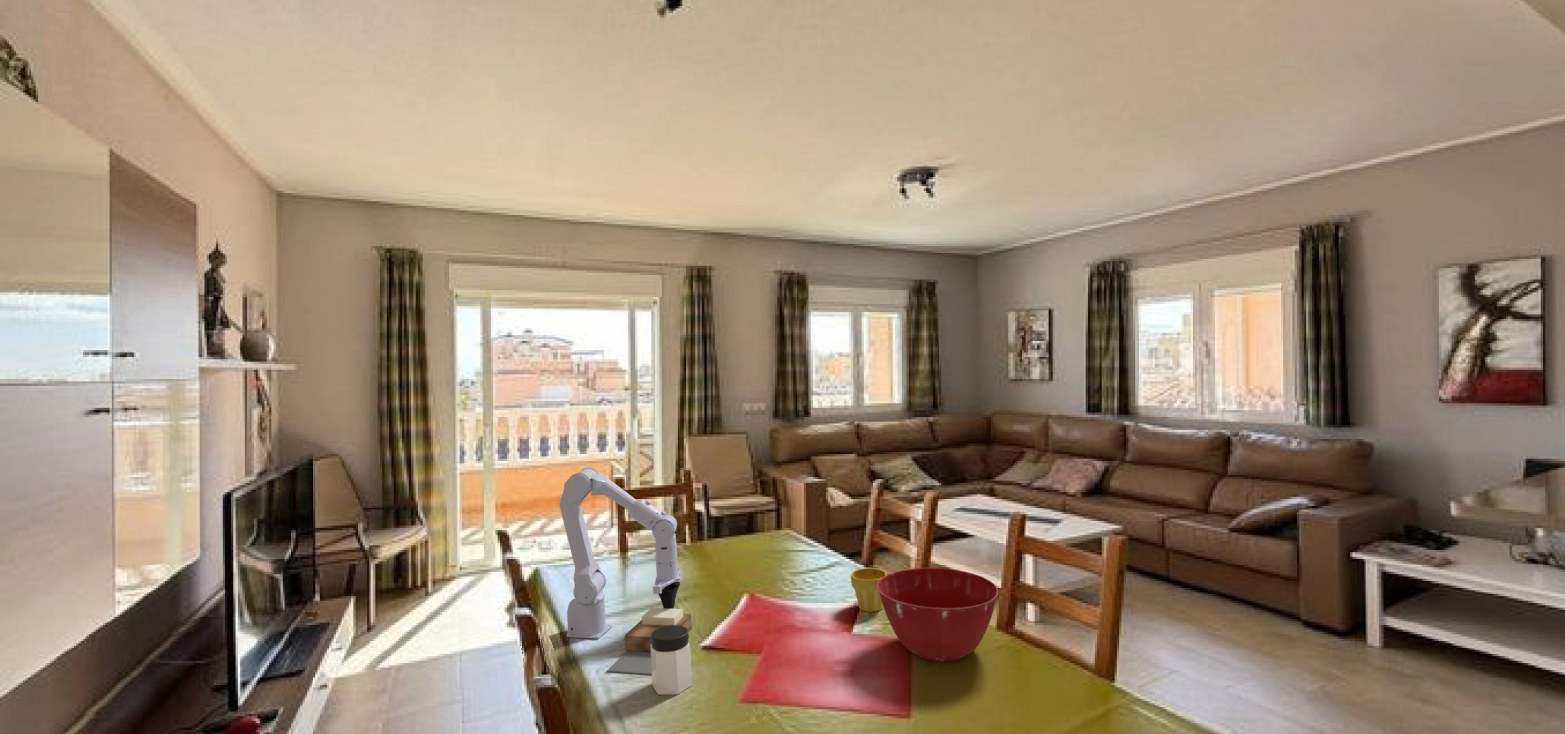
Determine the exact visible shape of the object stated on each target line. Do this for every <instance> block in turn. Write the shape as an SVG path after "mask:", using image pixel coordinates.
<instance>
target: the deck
mask: <svg viewBox="0 0 1565 734" xmlns="http://www.w3.org/2000/svg"><path fill="white" fill-rule="evenodd" d="M676 625H680V626H684V627H686V628H687V630H688V633H689V632H690V631H691V630H692V625H693V624H692V613H684V612H683V617H682V618H681V619H680V621H679V622H678V623H677V624H676ZM664 626H667V625H647V624H642V619H641V620H639V622H637V623H636V624H635V625H634V626H633V627H632V628H631V629H630V630H629V631H628V632H627V633H626V634H625V635H624V649H625V651H624V652H626V651H631V652H648V653H651V646H650V645H651V644H652V642H651V634H652V632H653V631H655V630H656V629H658V628H660V627H664Z"/></svg>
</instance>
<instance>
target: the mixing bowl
mask: <svg viewBox="0 0 1565 734" xmlns="http://www.w3.org/2000/svg"><path fill="white" fill-rule="evenodd" d="M877 590H878V591H879V593H880V597H881V600H882V604H883V607H882V608H884V613H885V615H886V617H887V619H888V622H889V623H890V624H889V625H890V627H891V628H892V630H893V632H894V634H895V635H896V637H897V639H898V640H899V642H900V643H901V644H902V646H904V648H906V650H908V651H910V652H912V654H914V655H915V656H917V657H919V658H922V659H924V660H929V661H932V662H953V661H958V660H960V659H962V658H964V657H966V656H967V655H968V656H969V654H971V653H972V652H973V651H974V650H976V649H977V648H978V646H979V645H980V643H981V641H982V640H983V637H984V636H985V633H986V632H987V630H988V627H989V624H990V622H991V619H992V616H993V613H994V609H995V604H996V602H997V601H996V600H997V598H998V596H999V589H998V587H997V585H996V584H995V583H994V582H992V580H989V579H988V578H986V577H984V576H982V575H979V574H975V573H973V572H968V571H963V570H959V569H952V568H942V567H941V568H940V567H917V568H907V569H903V570H902V569H901V570H898V571H893V572H891V573H889V574H888V573H887V575H886V576H884V577H882V578H881V579H880V580H879V581H878V583H877Z"/></svg>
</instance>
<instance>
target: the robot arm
mask: <svg viewBox="0 0 1565 734" xmlns="http://www.w3.org/2000/svg"><path fill="white" fill-rule="evenodd" d="M561 494H562V495H561V497H560V501H559V510H560V513H561V517H562V522H563V525H564V529H565V533H566V537H567V540H568V541H567V542H568V545H569V546H568V547H569V549H570V553H571V558H572V561H573V565H574V574H573V582H574V587H573V592H572V593H573V597H574V598H573V599H571V600H570V601H569V604H568V606H567V611H566V617H567V618H566V619H567V634H566V638H578V639H583V638H584V639H600V638H601V637H602V636H603V635H604V634H605V633H607V631H609V630H611V628H612V627H613V624H607V623H606V621H607V620H606V619H607V618H606V603H605V602H606V600H605V593H604V592H603V590H604V588H605V586H606V583H607V579H606V576H605V574H604V573H603V571H602V570H601V568H600V565H599V563H597V561H596V560H595V557H594V554H593V550H592V545H591V541H590V538H589V534H588V530H587V525H586V521H585V517H584V513H583V510H582V504H583V503H584V501H585V499H586V498H587V496H588V495H589V494H590V496H605V497H606V498H608V499H610V500H612V501H613V502H615V503H616V504H618V505H620V507H623V508H624V509H626V510H627V511H628V512H629V516H630V518H631V519H632V520H634V521H636V522H637V523H638V524H640V525H641V526H643V527H644V528H646V529H647V530H649V531H651V533H652V535H653V537H654V539H655V545H654V546H655V547H654V548H655V567H656V568H655V569H656V577H655V581H654V585H653V586H652V593H653V594H654V595H655V594H657V595H658V597H659V598H660V602H661V604H662V608H669V609H675V602H676V598H677V594H678V590H679V589H680V586H681V582H680V581H682V580H683V576H682V569H681V567H680V568H678V548H677V543H678V542H677V537H676V535H677V534H676V533H675V532H676V531H677V528H678V521H677V519H676V518H675V517H674V515H672V514H671V513H666V511H664V510H660V509H658V508H657V507H656V506H654V505H652V501H651V500H649V499H647V500H645V499H644V498H642V499H636V498H634V497H633V496H632V495H630V494H629V493H628V492H627V491H626V490H624V489H623V488H621V487H620V486H619V485H617V484H616V483H614V482H613V481H612V480H611V479H610V478H608V477H607V476H606V475H605V474H604V473H602V472H599V471H598V470H597V469H596V468H594V467H590V466H588V467H585V468H582V469H581V470H580V471H578V472H575V473H573V474H572V475H570V476H569V478H568V479H567V480H566V481H565V482H564V484H563V491H562V493H561Z"/></svg>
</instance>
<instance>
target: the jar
mask: <svg viewBox="0 0 1565 734" xmlns="http://www.w3.org/2000/svg"><path fill="white" fill-rule="evenodd" d="M689 638H690V636H689V632H688V630H687V628H686V627H684V626H680V625H669V626H664V627H660V628H658V629H656V630H655V631H653V632H652V634H651V642H652V644H651V645H650V646H651V667H652V675H651V684H652V687H653V689H654V691H655V693H656V694H657V695H661V696H663V695H680V694H681V693H682V692H685V690H687V689H689V688H690V687H691V686H692V685H693V682H692V681H693V679H692V676H693V675H692V656H691V644H690V642H689Z"/></svg>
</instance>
